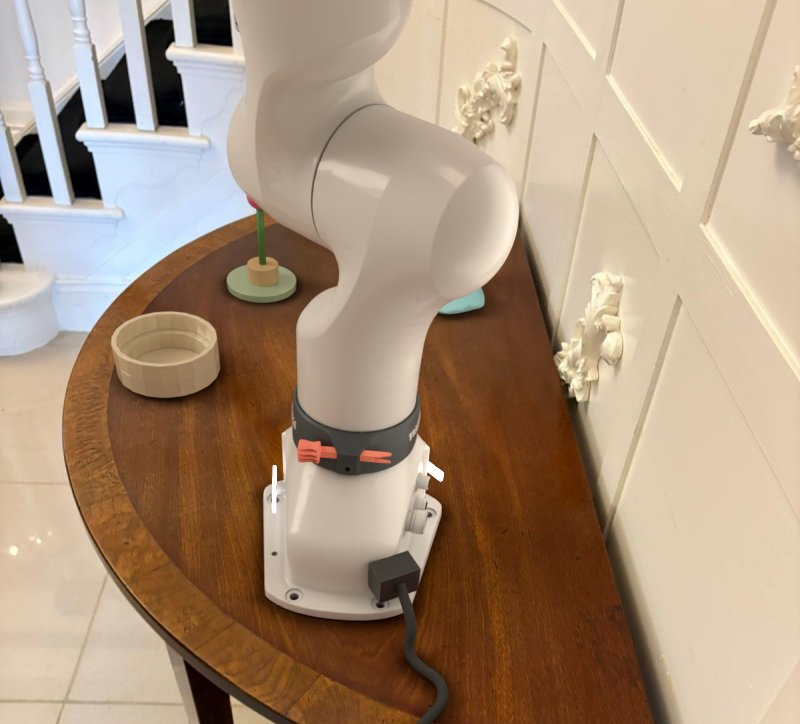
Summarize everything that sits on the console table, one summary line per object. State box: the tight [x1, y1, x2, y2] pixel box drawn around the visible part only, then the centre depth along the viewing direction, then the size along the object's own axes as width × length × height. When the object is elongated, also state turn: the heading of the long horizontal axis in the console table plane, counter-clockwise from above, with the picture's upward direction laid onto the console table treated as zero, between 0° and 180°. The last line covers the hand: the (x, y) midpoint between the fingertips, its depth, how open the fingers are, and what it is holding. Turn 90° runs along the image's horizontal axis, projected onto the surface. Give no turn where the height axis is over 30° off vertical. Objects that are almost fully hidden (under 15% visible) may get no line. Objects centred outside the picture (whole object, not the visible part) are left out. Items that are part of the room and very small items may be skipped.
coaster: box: [226, 264, 297, 304], centre depth 114 cm, size 10×10×1 cm
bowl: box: [110, 310, 221, 399], centre depth 96 cm, size 12×12×5 cm
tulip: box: [245, 194, 279, 286], centre depth 109 cm, size 4×4×15 cm
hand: (248, 41), depth 93 cm, fingers open, 8 cm apart
